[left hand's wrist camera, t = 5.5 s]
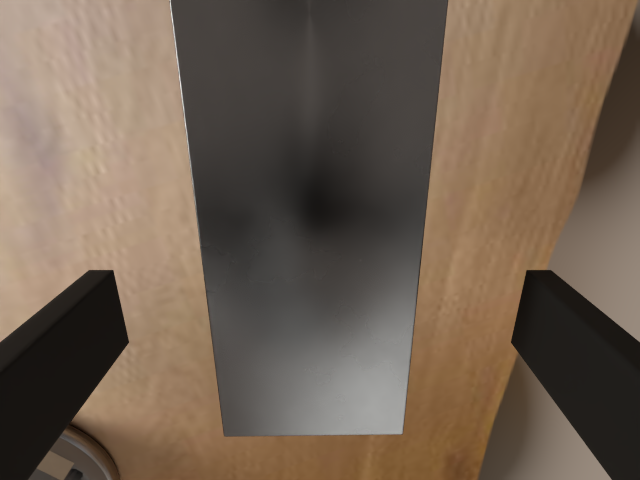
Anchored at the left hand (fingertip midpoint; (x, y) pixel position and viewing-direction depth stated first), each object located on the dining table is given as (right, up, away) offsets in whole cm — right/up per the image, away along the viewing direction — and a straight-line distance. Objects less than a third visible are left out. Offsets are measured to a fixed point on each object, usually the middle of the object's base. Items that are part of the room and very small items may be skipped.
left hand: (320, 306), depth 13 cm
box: (0, +11, +5) cm, 12 cm away
